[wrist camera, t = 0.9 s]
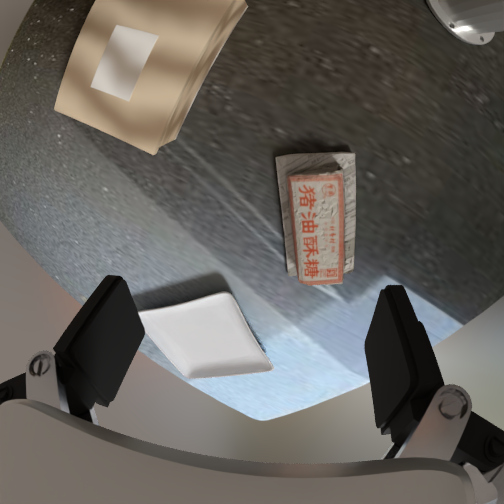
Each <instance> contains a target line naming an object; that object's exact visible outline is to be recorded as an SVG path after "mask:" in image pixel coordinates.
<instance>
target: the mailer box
mask: <svg viewBox="0 0 504 504" xmlns="http://www.w3.org/2000/svg"><path fill="white" fill-rule="evenodd" d="M247 7H248V6H247V4H246V2H245V0H236V2H235V3H234V4H233V6H232V7H231V9H230V11H229V12H228V14H227V15H226V17H225V18H224V20H223V21H222V23H221V25H220V26H219V28H218V30H217V31H216V33H215V35H214V36H213V38H212V40H211V41H210V43H209V45H208V47H207V48H206V50H205V52H204V54H203V55H202V57H201V59H200V61H199V63H198V65H197V67H196V68H195V70H194V72H193V74H192V76H191V78H190V80H189V82H188V84H187V86H186V88H185V90H184V92H183V94H182V96H181V98H180V100H179V103H178V105H177V107H176V109H175V111H174V113H173V116H172V118H171V120H170V122H169V125H168V127H167V129H166V132H165V134H164V137H163V139H162V141H161V144H160V146H162V145H164V144H166V143H168V142H171V141H173V140H175V139H176V137H177V135H178V133H179V131H180V128H181V126H182V124H183V122H184V120H185V118H186V115H187V113H188V111H189V109H190V107H191V105H192V103H193V101H194V99H195V97H196V95H197V93H198V91H199V89H200V87H201V85H202V83H203V81H204V79H205V78H206V76H207V74H208V72H209V70H210V68H211V66H212V65H213V63H214V61H215V59H216V57H217V56H218V54H219V52H220V51H221V49H222V47H223V45H224V44H225V42H226V40H227V39H228V37H229V35H230V34H231V32H232V31H233V29H234V27H235V26H236V24H237V23H238V21H239V19H240V18H241V16H242V15H243V13H244V12H245V10H246V9H247ZM160 146H159V147H160Z"/></svg>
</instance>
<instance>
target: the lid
mask: <svg viewBox="0 0 504 504" xmlns="http://www.w3.org/2000/svg"><path fill="white" fill-rule="evenodd" d="M235 2H236V0H96V1H95V2H94V4H93V6H92V8H91V10H90V12H89V14H88V16H87V18H86V21H85V23H84V25H83V27H82V29H81V32H80V34H79V36H78V39H77V41H76V43H75V46H74V48H73V51H72V54H71V56H70V59H69V62H68V65H67V67H66V70H65V73H64V76H63V80H62V83H61V86H60V89H59V93H58V96H57V100H56V104H55V108H54V110H55V111H58V112H60V113H63V114H65V115H67V116H70V117H72V118H74V119H76V120H79V121H81V122H83V123H85V124H88V125H90V126H92V127H94V128H97V129H99V130H101V131H103V132H105V133H108V134H110V135H112V136H114V137H116V138H119V139H121V140H123V141H125V142H127V143H129V144H131V145H133V146H136V147H138V148H140V149H142V150H144V151H146V152H148V153H150V154H152V155H155V154H157V151H158V149H159V146H160V144H161V141H162V139H163V137H164V134H165V132H166V129H167V127H168V125H169V122H170V120H171V118H172V116H173V113H174V111H175V109H176V107H177V105H178V103H179V100H180V98H181V96H182V94H183V92H184V90H185V88H186V86H187V84H188V82H189V80H190V78H191V76H192V74H193V72H194V70H195V68H196V67H197V65H198V63H199V61H200V59H201V57H202V55H203V54H204V52H205V50H206V48H207V47H208V45H209V43H210V41H211V40H212V38H213V36H214V35H215V33H216V31H217V30H218V28H219V26H220V25H221V23H222V21H223V20H224V18H225V17H226V15H227V14H228V12H229V11H230V9H231V7H232V6H233V4H234V3H235Z"/></svg>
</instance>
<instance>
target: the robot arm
mask: <svg viewBox="0 0 504 504" xmlns="http://www.w3.org/2000/svg"><path fill="white" fill-rule="evenodd" d="M426 2H427V4H428V6H429V8H430V9H431V11H432V13H433V14H434V16H435V17H436V18H437V20H438V21H439V22H440V23H441V24H442V25H443V26H444V27H445V28H446V29H447V30H448V31H449V32H450V33H451V34H453V35H454V36H455V37H457V38H458V39H460V40H462V41H464V42H466V43H469V44H474V45H481V44H486V43H488V42H489V41H490V40H491V39H492V38H493V36H494V34H495V32H499V31H504V0H426ZM144 335H145V328H144V326H143V323H142V321H141V319H140V316H139V314H138V311H137V309H136V306H135V304H134V301H133V299H132V296H131V293H130V291H129V288H128V285H127V283H126V281H125V280H123V278H122V277H121V276H114V275H107V276H106V277H105V278H104V279H103V281H102V282H101V283H100V284H99V286H98V287H97V288H96V289H95V291H94V292H93V293H92V295H91V296H90V297H89V299H88V300H87V301H86V303H85V304H84V305H83V307H82V308H81V309H80V311H79V312H78V313H77V315H76V316H75V318H74V319H73V320H72V322H71V323H70V325H69V326H68V327H67V329H66V330H65V332H64V333H63V335H62V336H61V337H60V339H59V341H58V342H57V343H56V345H55V346H54V348H53V349H54V351H55V352H56V354H55V356H54V355H53V354H52V353H51V352H49V351H40V352H38V353H36V354H35V355H33V356H32V357H31V359H30V360H29V362H28V363H27V366H26V372H25V373H23V374H21V375H19V376H16V377H14V378H12V379H10V380H8V381H5V382H3V383H1V384H0V504H504V431H503V430H501V429H500V428H498V427H497V426H495V425H493V424H492V423H490V422H488V421H487V420H485V419H484V418H482V417H480V416H479V415H477V414H476V413H474V412H472V411H471V409H472V403H471V399H470V396H469V395H468V393H467V392H466V391H465V390H464V389H463V388H461V387H460V386H457V385H450V384H449V385H444V381H443V378H442V375H441V372H440V369H439V366H438V363H437V360H436V357H435V354H434V352H433V349H432V346H431V343H430V341H429V338H428V335H427V333H426V330H425V328H424V326H423V324H422V323H421V322H420V321H418V319H417V317H416V314H415V312H414V310H413V307H412V305H411V302H410V300H409V298H408V295H407V293H406V291H405V289H404V287H403V286H402V285H387V286H386V288H385V289H382V290H381V291H380V294H379V298H378V301H377V305H376V308H375V311H374V315H373V318H372V321H371V324H370V327H369V330H368V334H367V336H366V339H365V354H366V360H367V366H368V372H369V378H370V384H371V391H372V398H373V405H374V413H375V422H376V426H377V428H381V434H382V435H386V434H391V438H392V442H393V443H392V445H391V446H390V448H389V449H388V451H387V452H386V453H385V455H384V456H383V457H382V459H381V460H372V461H362V462H351V463H330V464H281V463H263V462H251V461H243V460H234V459H226V458H219V457H213V456H207V455H201V454H196V453H191V452H186V451H181V450H177V449H173V448H168V447H164V446H160V445H157V444H153V443H149V442H146V441H142V440H139V439H136V438H132V437H129V436H126V435H123V434H120V433H117V432H114V431H111V430H109V429H106V428H103V427H101V426H99V424H98V421H97V417H96V414H95V410H94V403H95V402H96V403H97V404H99V405H102V406H105V407H108V406H109V403H110V402H111V401H113V400H114V398H115V396H116V394H117V392H118V390H119V387H120V385H121V383H122V381H123V379H124V377H125V375H126V372H127V370H128V368H129V366H130V364H131V362H132V360H133V358H134V356H135V354H136V352H137V350H138V348H139V346H140V344H141V342H142V340H143V338H144Z"/></svg>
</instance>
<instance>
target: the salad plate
mask: <svg viewBox="0 0 504 504" xmlns="http://www.w3.org/2000/svg"><path fill="white" fill-rule="evenodd" d="M138 314H139V316H140V319H141V321H142V323H143V326H144V328H145V332H146V333H147V335H148V336H149V337H150V338H151V339H152V341H153V342H154V343H155V344H156V345H157V346H158V348H159V349H160V350H161V351H162V352H163V353H164V355H165V356H166V357H167V358H168V359H169V360H170V361H171V362H172V364H173V365H174V366H175V367H176V368H177V369H178V370H179V371H180V372H181V373H182V374H183V375H184V376H185V377H187V378H189V379H196V378H212V377H225V376H236V375H245V374H253V373H261V372H268V371H273V370H274V366H273V365H272V363H271V361H270V360H269V358H268V357H267V356H266V354H265V353H264V351H263V350H262V348H261V347H260V345H259V344H258V342H257V340H256V339H255V337H254V335H253V333H252V332H251V330H250V328H249V326H248V324H247V322H246V320H245V318H244V316H243V314H242V312H241V310H240V308H239V306H238V304H237V302H236V300H235V299H234V297H233V295H232V294H231V293H229V292H226V291H222V292H218V293H215V294H212V295H208V296H205V297H201V298H198V299H195V300H191V301H188V302H184V303H180V304H176V305H171V306H166V307H160V308H154V309H148V310H142V311H138Z"/></svg>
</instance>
